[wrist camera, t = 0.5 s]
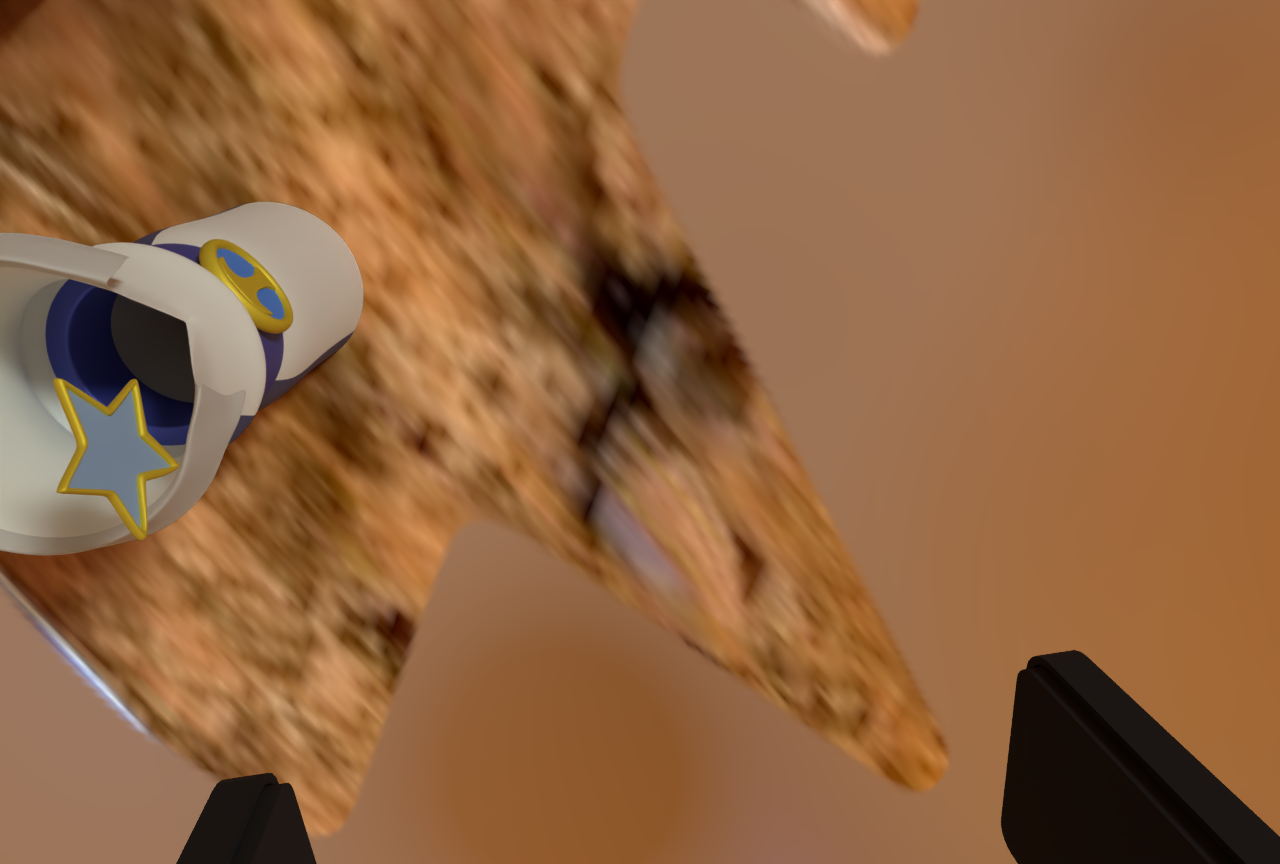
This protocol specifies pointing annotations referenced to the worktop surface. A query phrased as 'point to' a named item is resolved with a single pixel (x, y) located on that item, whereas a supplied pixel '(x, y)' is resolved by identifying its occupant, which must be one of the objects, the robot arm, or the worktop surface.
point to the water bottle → (153, 364)
